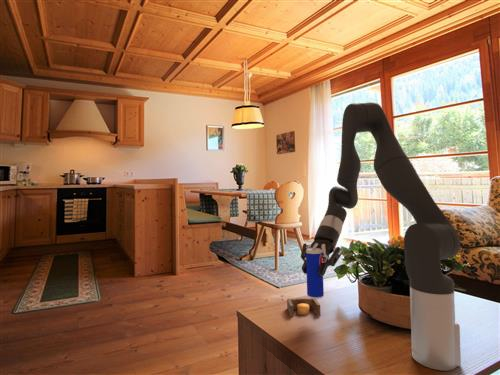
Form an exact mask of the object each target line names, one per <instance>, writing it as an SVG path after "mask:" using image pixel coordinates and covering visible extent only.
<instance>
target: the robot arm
mask: <svg viewBox="0 0 500 375" xmlns="http://www.w3.org/2000/svg"><path fill="white" fill-rule="evenodd" d="M342 114H343V115H342V123H341V146H340V147H341V150H340V151H341V152H340V153H341V155H340V162H339V168H338V171H337V176H336V182H337V184H338V185H339V186H338V185H337V186H336V185H335V186H333V187H331V189H330V190H329V192H328V203H327V204H328V205H327V209H326V211H325V213H324V216H323V218H322V220H321V221H320V223H319V226H318V227H317V230H316V232H315V235H314V238H313V241H312V243H310V244H307V243H303V245H302V248H301V254H300V258H301V259H302V261H303V264H302V266H301V270H302V273H303V274H306V275H307V273H306V250H307V249H308V248H319V249H321V250H322V259H323V263H321V265H320V268H319V270H318V274H319V276H321V277H322V276H323V277H324V275H325V274H326V272H327V269H328V268H329V267H330V266H331V267H335V266H336V264H337V262H338V261H339V260H340V258H341V257H342V255H343V251H342V249H341V247H339V246H337V244H338V241H339V239H340V236H341V234H342V230H343V225H344V223H345V220H346V218H347V214H348V212H347V210H346V209H348V210H350V209H351V210H352V209H354V208H355V207H356V206H357V205H358V201H359V194H358V180H359V176H360V173H361V167H362V166H361V164H362V163H361V158H360V156H359V154H358V152H357V149H356V145H355V139H356V136H357V134H358V133H360V134H361V133H367V132H369V133H370V134H371V135H372V137H373V138H374V141H375V144H376V147H375V153H374V159H373V168H374V172H375V174H376V175H377V178H378V180H379V182H380V183H381V186H382V187H383V188H384V190H385V191H386V192H387V193H388V194H389V195H390V196H391V197H392V198H393V199H394V200H396V201H397V202H398V203H400V205H402V206H403V207H404V208H405V209H406V210H407V211H408V212H409V213H410V215H411V216H412V217H413V219H414V221H415V222H416V223H413V224H411V225H409V226H408V227H407V229H406V230H405V233H404V237H403V251H404V252H403V253H404V262H405V263H404V264H405V271H406V275H407V277H408V279H409V280H408V281H409V297H410V298H409V299H410V302H409V303H410V330H411V331H410V332H411V336H410V337H411V356H412V358H413V359H414V360H415V361H416V362H417V363H418V364H420V365H421V366H424V367H427V368H428V369H433V370H437V371H445V372H446V371H447V372H448V371H452V370H455V369H456V368H457V367H461V366H462V360H461V359H462V358H461V332H460V329H461V328H460V324H458V323H457V322H456V308H455V306H456V305H455V303H456V302H455V282H454V280H453V278H452V277H450V276H448V275H446V274H444V273H443V270H442V263H441V262H442V261H443V260H447V259H452V258H454V257H456V256H457V255H458V254H459V253H460V250H461V239H460V236H459V233H458V231H457V230H456V228H455V226H454V225H453V224H452V223H451V221H450V220H449V219H448V217H447V216H446V214H445V213H444V212H443V211H442V209H441V208H440V207H439V206H438V204H437V202H435V200H434V199H433V197H432V196H431V194H430V192H429V190H428V189H427V187H426V185H425V183H424V182H423V181H422V179H421V177H420V176H419V174H418V172H417V170H416V169H415V166H414V165H413V164H412V162H411V160H410V158H409V157H408V155H407V154H406V152H405V150H403V147H402V146H401V144H400V142H399V140H398V139H397V137H396V135H395V133H394V131H393V129H392V127H391V125H390V122H389V119H388V118H387V117H388V116H386V113H385V111H384V109H383V108H382V106H381V104H380V103H378V102H377V101H376V102H375V101H365V102H364V101H362V102H353V103H350V104H348V105H347V106H346V107H345V109H344V112H343V113H342ZM336 246H337V247H336ZM330 255H331V256H330ZM441 260H442V261H441Z"/></svg>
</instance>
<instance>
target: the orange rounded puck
mask: <svg viewBox="0 0 500 375" xmlns="http://www.w3.org/2000/svg"><path fill="white" fill-rule="evenodd" d="M296 310H297V314H298V315H301V316H306V315H309V314H310V309H309V305H308V304H305V303H300V304H298V305H297V309H296Z"/></svg>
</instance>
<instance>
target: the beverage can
mask: <svg viewBox="0 0 500 375" xmlns="http://www.w3.org/2000/svg"><path fill="white" fill-rule="evenodd" d="M321 263H323V258H322V250H321V249H319V248H308V249H307V250H306V273H307V274H306V294H307V296H308V298H313V299H316V300H319V299H322V298H323V297H324V296H325V292H324V288H325V287H324V275H323V276H322V277H321V276H319V274H318V270H319V268H320V265H321Z"/></svg>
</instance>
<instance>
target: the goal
mask: <svg viewBox="0 0 500 375" xmlns="http://www.w3.org/2000/svg"><path fill="white" fill-rule="evenodd" d="M300 303H305V304H308V305H309V310H313V312H315V314H316V315H317V317H318V316H319V317H320V316H321V304H320V303H319V301H318V299H313V298H310V297H301V298H300V297H297V298H294V297H293V298H287V299H286V305H287V306H286V309H287V311H288V313H289V316H290V317H293V318H294V317H295V316H294V313H295V312H294V310H298V309H297V305H298V304H300Z"/></svg>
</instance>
